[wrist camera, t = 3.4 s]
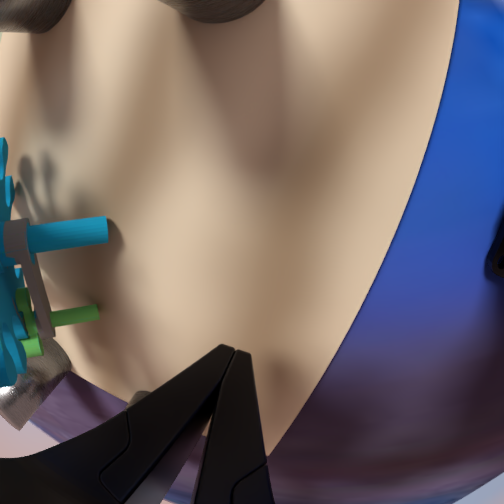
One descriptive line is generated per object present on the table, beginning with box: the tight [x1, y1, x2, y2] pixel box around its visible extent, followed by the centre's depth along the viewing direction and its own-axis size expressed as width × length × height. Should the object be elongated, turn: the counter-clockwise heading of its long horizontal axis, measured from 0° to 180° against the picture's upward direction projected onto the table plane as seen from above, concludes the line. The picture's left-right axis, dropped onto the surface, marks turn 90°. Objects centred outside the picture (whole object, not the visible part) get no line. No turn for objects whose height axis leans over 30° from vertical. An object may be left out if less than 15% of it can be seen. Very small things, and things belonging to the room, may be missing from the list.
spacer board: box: [0, 0, 459, 456], centre depth 12 cm, size 30×24×1 cm
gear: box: [0, 137, 108, 388], centre depth 9 cm, size 11×6×10 cm
